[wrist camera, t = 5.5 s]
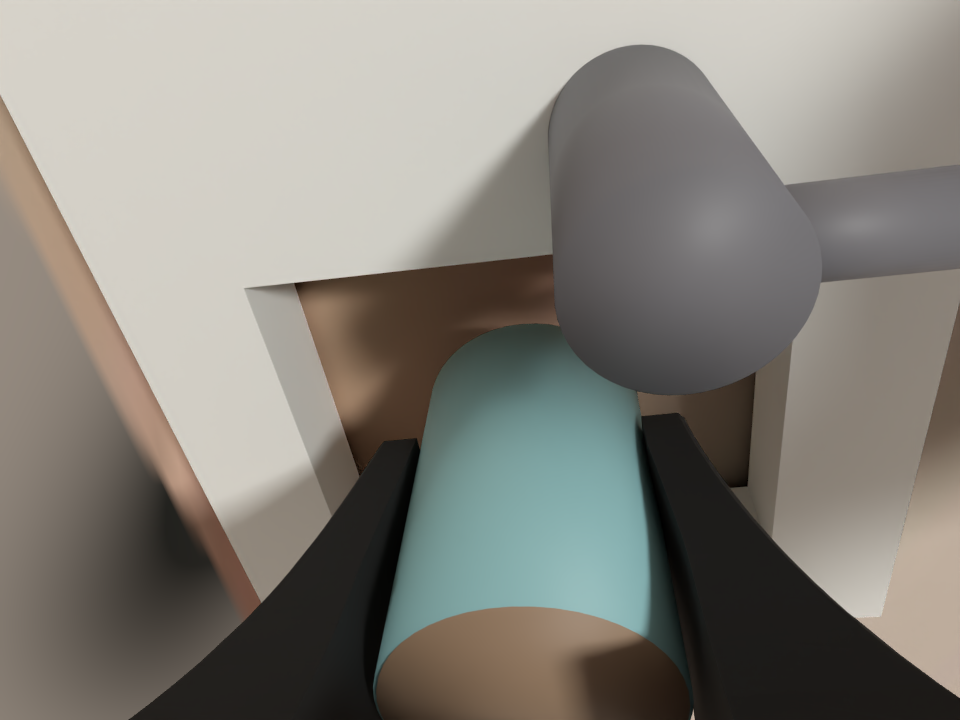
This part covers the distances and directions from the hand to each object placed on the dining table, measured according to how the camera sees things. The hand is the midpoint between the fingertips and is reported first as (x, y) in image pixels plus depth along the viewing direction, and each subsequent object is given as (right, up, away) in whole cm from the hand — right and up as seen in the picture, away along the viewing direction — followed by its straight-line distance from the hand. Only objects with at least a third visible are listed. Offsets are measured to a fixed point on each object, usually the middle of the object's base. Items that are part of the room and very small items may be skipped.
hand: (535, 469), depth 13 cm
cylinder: (0, +1, +1) cm, 2 cm away
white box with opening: (0, +5, 0) cm, 5 cm away
